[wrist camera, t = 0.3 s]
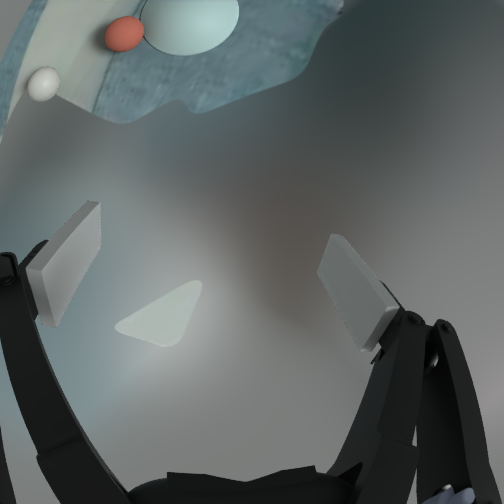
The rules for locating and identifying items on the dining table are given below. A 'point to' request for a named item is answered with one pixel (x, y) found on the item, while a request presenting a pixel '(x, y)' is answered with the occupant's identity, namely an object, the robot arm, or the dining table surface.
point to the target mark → (188, 24)
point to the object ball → (124, 34)
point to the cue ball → (43, 84)
